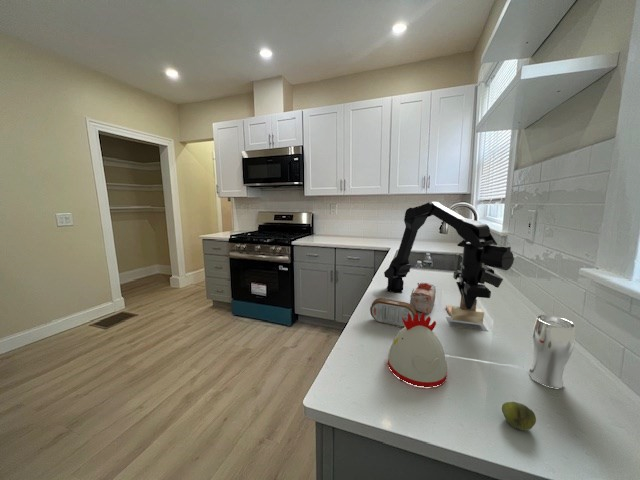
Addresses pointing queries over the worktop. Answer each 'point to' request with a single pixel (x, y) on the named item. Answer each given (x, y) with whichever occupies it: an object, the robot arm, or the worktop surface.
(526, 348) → the worktop surface
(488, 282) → the robot arm
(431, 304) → the food item
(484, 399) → the worktop surface
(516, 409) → the lime
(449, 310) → the tile
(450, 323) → the pad
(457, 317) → the cream brown stepped block
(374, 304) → the tin
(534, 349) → the beer glass
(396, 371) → the kitchen timer
